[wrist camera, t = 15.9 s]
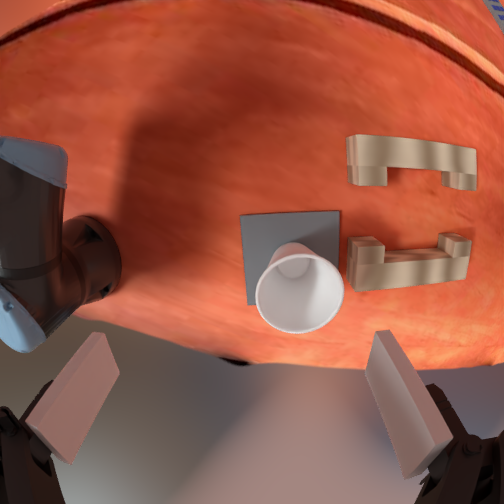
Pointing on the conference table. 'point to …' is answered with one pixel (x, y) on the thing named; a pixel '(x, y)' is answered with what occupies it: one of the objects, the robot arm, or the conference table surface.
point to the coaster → (285, 239)
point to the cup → (299, 290)
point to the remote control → (496, 11)
